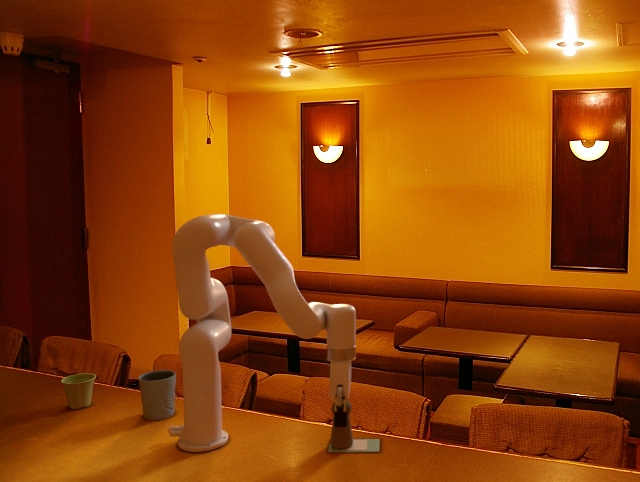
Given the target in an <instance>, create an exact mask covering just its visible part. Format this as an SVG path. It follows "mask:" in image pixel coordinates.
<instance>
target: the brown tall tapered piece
mask: <svg viewBox="0 0 640 482" xmlns="http://www.w3.org/2000/svg"><path fill="white" fill-rule="evenodd" d="M342 404H343V405H344V402H342ZM352 406H353V405H352V404H351V402H350V401H349V400H348V401H346V411H347V426H346V427H335V426H334V411H335V401H334V402H333V403H332V404H331V414H332V415H333V417H332V425H331V431H330V432H331V433H330V439H329V440H330V441H329V446H330V445H331V446H332V447H335V448H347V447H350V446H352V445H353V439H354V438H353V432H352V431H353V430H352V423H351V413H352Z"/></svg>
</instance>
